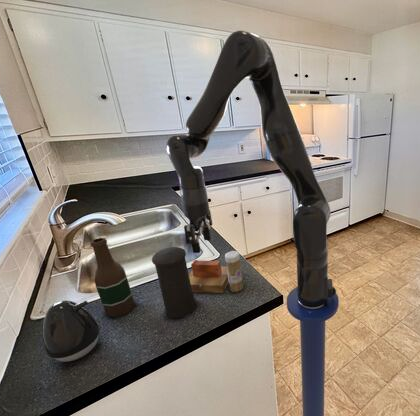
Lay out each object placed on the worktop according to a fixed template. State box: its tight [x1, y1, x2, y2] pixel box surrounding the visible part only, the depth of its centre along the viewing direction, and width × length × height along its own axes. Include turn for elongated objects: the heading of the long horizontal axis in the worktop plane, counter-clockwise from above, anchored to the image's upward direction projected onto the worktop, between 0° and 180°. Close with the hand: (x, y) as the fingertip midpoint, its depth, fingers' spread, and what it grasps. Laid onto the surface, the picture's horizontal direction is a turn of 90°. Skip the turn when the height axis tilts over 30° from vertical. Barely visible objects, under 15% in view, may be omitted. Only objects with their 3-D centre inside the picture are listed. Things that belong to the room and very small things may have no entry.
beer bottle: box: [90, 237, 135, 318], centre depth 78 cm, size 8×8×24 cm
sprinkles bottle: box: [224, 250, 244, 293], centre depth 89 cm, size 5×5×14 cm
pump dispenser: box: [42, 299, 101, 363], centre depth 66 cm, size 10×10×15 cm
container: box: [151, 246, 196, 319], centre depth 79 cm, size 9×9×20 cm
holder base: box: [188, 265, 229, 294], centre depth 94 cm, size 14×13×3 cm
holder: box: [190, 259, 222, 277], centre depth 92 cm, size 9×3×5 cm, turn 87°
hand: (202, 245), depth 89 cm, fingers open, 8 cm apart
